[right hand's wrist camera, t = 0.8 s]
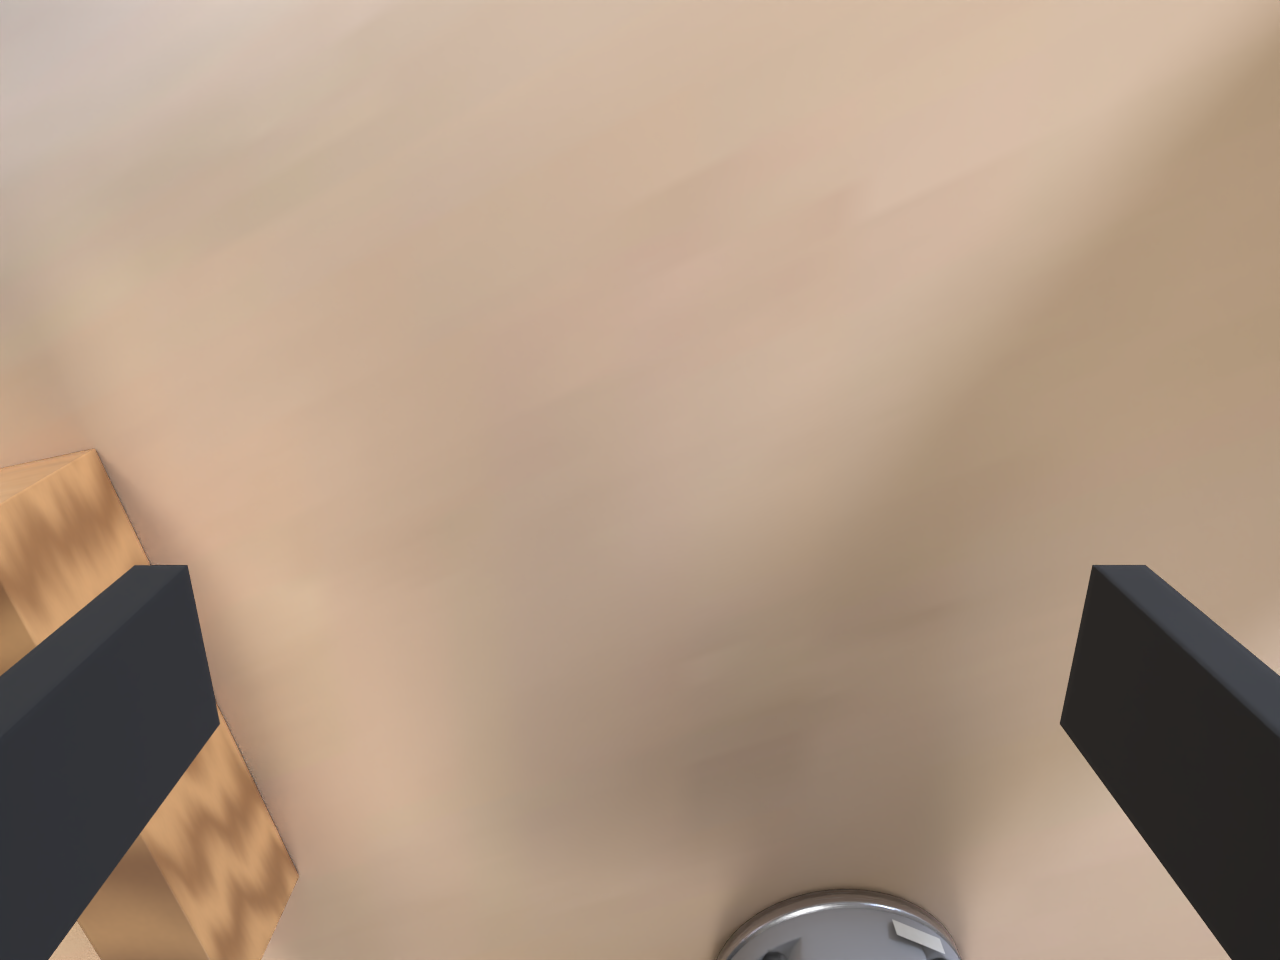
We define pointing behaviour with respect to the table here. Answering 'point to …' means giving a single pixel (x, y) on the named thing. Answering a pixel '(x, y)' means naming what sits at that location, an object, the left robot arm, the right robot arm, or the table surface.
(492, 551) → the table surface
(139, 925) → the bar
